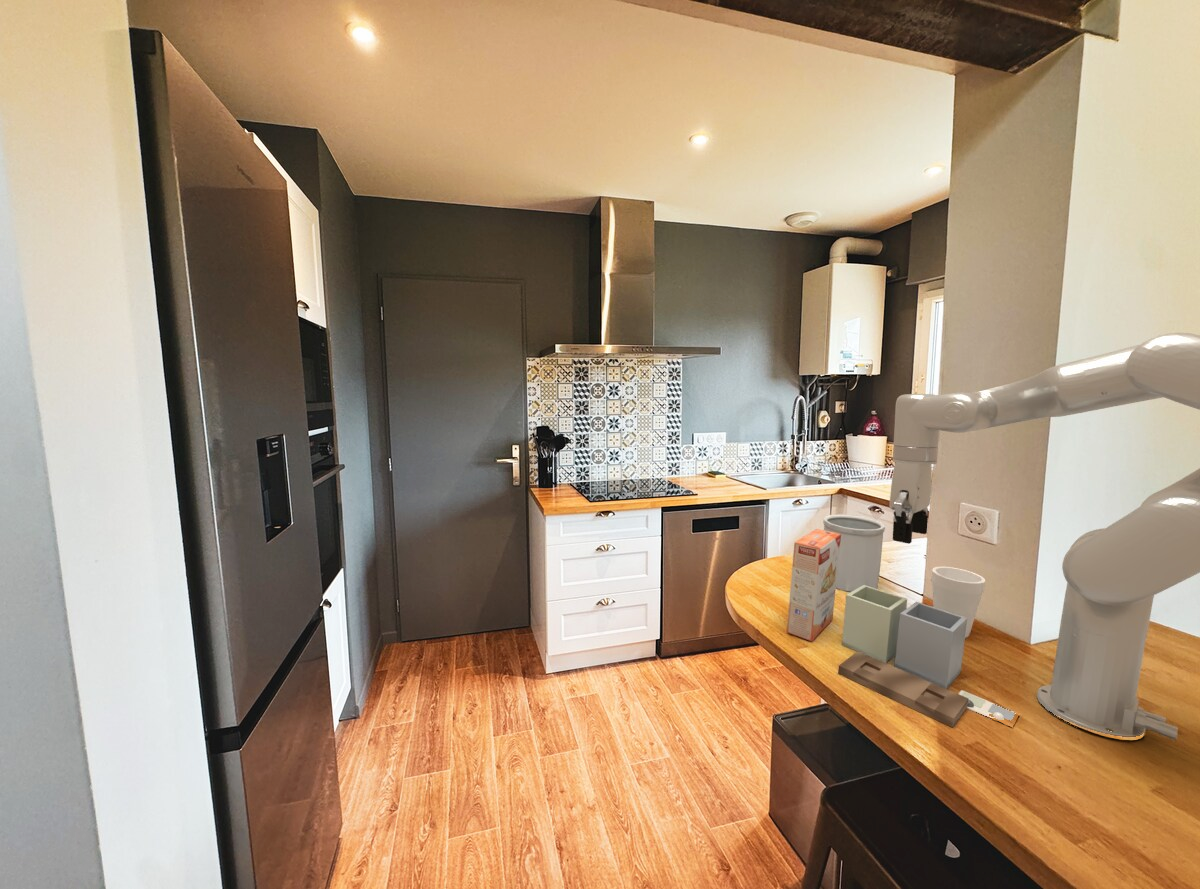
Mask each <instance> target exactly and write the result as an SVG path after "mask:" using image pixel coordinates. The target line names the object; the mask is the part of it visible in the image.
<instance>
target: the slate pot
mask: <svg viewBox="0 0 1200 889" xmlns="http://www.w3.org/2000/svg"><path fill="white" fill-rule="evenodd" d="M966 625H967V618H966V617H963V616H960V615H957V614H954V613H951V612H947V611H944V610H941V609H938V608H935V607H933V606H932V605H929V604H928V605H927V604H925V603H922V602H919V601H915V602H914V603H912V604H911V605H910V606H909V607H906V610H904V611H903V612H902V613H900V620H899V630H898V640H897V649H896V655H895V661H894V667H896V668H898V669H901V670H903V671H905V672H908V673H910V674H912V675H915V676H917V677H919V678H922V679H924V680H926V681H929V682H931V683H933V684H936V685H938V686H940V687H943V688H945V689H948V688H949V687H950V686H951V684H952V683H953V682H954V681H955V680H956V679H957V677H958V676H959V675H960V674H961V672H962V666H963V665H962V664H963V655H964V647H965V640H966V638H965V633H966Z"/></svg>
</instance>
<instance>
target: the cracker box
mask: <svg viewBox="0 0 1200 889" xmlns="http://www.w3.org/2000/svg"><path fill="white" fill-rule="evenodd" d="M840 541H841V534H838V533H835V532H830V531H824V529H819V528H816V529H814V530H812V531H810V532H809V533H807V534H806V535H804V536H802V537H800V538H798V539H797V540H795V541H794V543H793V556H792V567H791V577H790V578H791V579H790V590H789V601H788V612H787V613H788V614H787V623H786V624H787V626H786V633H788V634H790V635H792V636H795V637H799V638H801V639H804V640H806V641H809V642H811V643H812V642H814V640H815V639H816V638H817V637H818V636H819V634H821V632H822V631H823V630H824V629H825V628H826V627H827V626H828V625H829V624H830V623H831V622H832V621H833V618H834V609H835V608H834V606H835V598H836V589H837V588H836V581H837V570H838V560H839V551H840Z"/></svg>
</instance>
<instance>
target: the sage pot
mask: <svg viewBox="0 0 1200 889" xmlns="http://www.w3.org/2000/svg"><path fill="white" fill-rule="evenodd" d="M844 604H845V606H844V618H843V626H842V640H841V646H843V647H845V648H848V649H851V650H853V651H855V652H857V651H858V652H861V653H863V654H865V655H868V656H870V657H872V658H875V659H877V660H879V661H882V662H884V663H887V664H888V662H889V661H890V660H892V658H894V657H896V649H897V640H898V630H899V620H900V613H902V612H903V611H904V610H906V609H907V608H908V607H907V605H908V598H906V597H904V596H900V595H897V594H895V593H892V592H888V591H885V590H882V589H878V588H877V589H876V588H872V587H869V586H866V585H863V586H861V587H859V588H857V589H856V590H854V591H852V592H848V593H847V594H846V595H845V603H844Z"/></svg>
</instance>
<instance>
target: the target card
mask: <svg viewBox="0 0 1200 889" xmlns="http://www.w3.org/2000/svg"><path fill="white" fill-rule="evenodd" d="M958 694H959V695H962V696H964V697H966V698H969V700H968V706H967V709H966V710H969V711H972V712H974V713H976V712H977V713H976V714H978V713H979V714H978V715H980V714H982V715H981V716H983V715H984V717H985V716H987V717H990V718H996V719H998V720H1004V718H1005V719H1007V720H1010V721H1011V720H1012V719H1013V717H1014V715H1015V714H1016V713H1017V712H1016V713H1014V712H1015V711H1013V710H1011V711H1009V710H1010V709H1008V708H1006V709H1004V708H1005V707H1004V708H1002V707H1003V706H1001V705H999V706H997V705H998V704H996V703H993V702H992V701H989V700H987V699H984V698H982V697H980V696H977V695H975V694H973V693H970V692H967V691H966V690H964V689H963V690H962V689H961V690H960V691H959V692H958ZM995 704H996V705H995ZM1000 706H1001V707H1000ZM1007 709H1008V710H1007ZM989 714H993V716H994V717H991V716H989ZM987 717H986V718H987ZM990 718H989V719H990Z"/></svg>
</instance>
